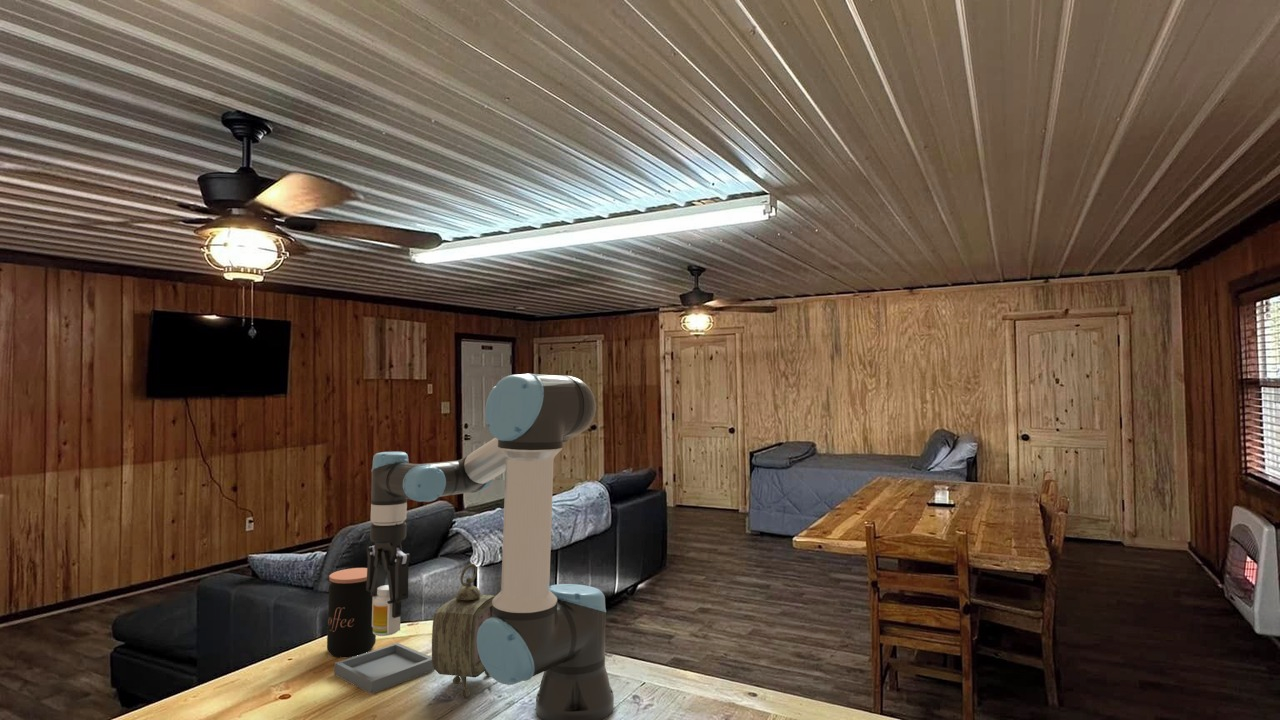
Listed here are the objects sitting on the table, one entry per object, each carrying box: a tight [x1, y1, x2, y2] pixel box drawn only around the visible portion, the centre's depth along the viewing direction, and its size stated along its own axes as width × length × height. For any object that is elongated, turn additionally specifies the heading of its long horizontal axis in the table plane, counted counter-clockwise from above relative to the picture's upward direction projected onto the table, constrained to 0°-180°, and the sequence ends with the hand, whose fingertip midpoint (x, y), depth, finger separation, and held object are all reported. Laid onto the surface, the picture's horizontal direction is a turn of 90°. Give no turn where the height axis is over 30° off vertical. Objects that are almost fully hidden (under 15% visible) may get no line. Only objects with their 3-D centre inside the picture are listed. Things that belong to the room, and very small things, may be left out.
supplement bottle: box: [373, 584, 399, 637], centre depth 145 cm, size 5×5×10 cm
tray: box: [333, 642, 436, 695], centre depth 144 cm, size 15×15×2 cm
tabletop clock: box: [431, 563, 496, 698], centre depth 138 cm, size 14×9×25 cm, turn 168°
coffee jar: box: [326, 567, 377, 658], centre depth 157 cm, size 11×11×18 cm
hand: (385, 628), depth 144 cm, fingers closed on supplement bottle, 5 cm apart
